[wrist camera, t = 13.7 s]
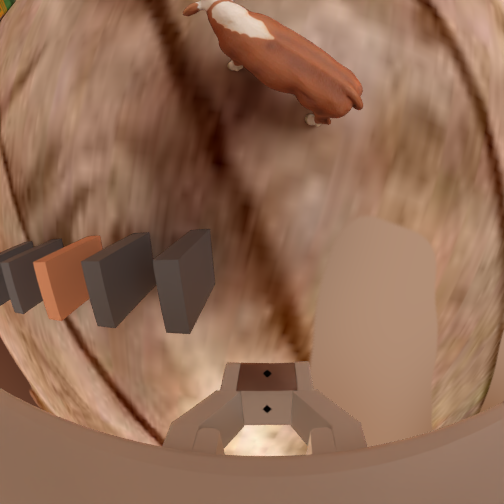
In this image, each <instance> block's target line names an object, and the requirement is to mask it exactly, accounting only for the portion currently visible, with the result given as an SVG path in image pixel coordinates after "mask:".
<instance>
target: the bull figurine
mask: <svg viewBox="0 0 504 504" xmlns="http://www.w3.org/2000/svg"><path fill="white" fill-rule="evenodd" d="M200 10H205V11H206V12H207V15H208V20H209V22H210V24H211V26H212V28H213V30H214V33H215V34H216V36H217V37H218V40H219V46H220V48H221V50H222V51H223V52H224V53H225V54H226V55H227V56H228V57H230V58H231V61H230V62H229V63H228V64H227V66H228V68H229V70H232V71H233V70H236V71H238V70H240V69H242V68H243V66H244V67H245V68H246V69H247V70H248V71H250V72H251V73H252V74H253V75H254V76H255V77H256V78H258V79H259V80H260V81H261V82H262V83H263V84H265V85H266V86H268V87H270V88H271V89H274V90H277V91H280V92H284V93H289V94H293V95H295V96H296V97H297V100H298V101H299V102H300V104H301V105H303V106H304V107H305V108H307V109H309V110H311V111H312V112H313V114H314V115H313V114H308V115H307V116H306V117H305V122H306V123H307V124H309V125H316V126H317V127H319V126H320V125H321V124H328V125H329V124H331V120H330V118H340V117H342V116H344V115H346V114H347V113H348V112H349V111H350V110H351V108H352V107H353V108H355V109H357V110H361V109H362V108H363V103H362V100H361V97H360V96H361V94H362V91H363V90H362V86H361V83H360V82H359V81H358V79H357V78H356V76H355V75H354V74H353V73H352V72H351V71H350V70H349V69H348V68H346V67H344V66H343V65H341V64H340V63H338V62H337V61H336V60H334V59H333V58H332V57H331V56H330V55H328V54H327V53H326V52H325V51H323V50H322V49H321V48H319V47H317V46H316V45H315V44H313V43H312V42H310V41H309V40H307V39H306V38H304V37H302V36H301V35H299V34H298V33H296V32H294V31H293V30H291V29H289V28H287V27H285V26H283V25H282V24H280V23H279V22H277V21H276V20H274V19H272V18H270V17H268V16H265V15H263V14H260V13H253V12H250V11H249V10H247V9H245V8H244V7H243V6H241V5H238V4H236V3H234V0H200V1H199V2H196V3H192V4H190V5H189V6H187V7H186V8H185V9H184V11H183V15H184V16H191V15H193V14H195V13H197V12H198V11H200ZM242 65H243V66H242Z"/></svg>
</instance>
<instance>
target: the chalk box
mask: <svg viewBox="0 0 504 504" xmlns="http://www.w3.org/2000/svg"><path fill="white" fill-rule="evenodd" d="M14 2H15V0H0V20H1V19H2V17H3V16H4V15H5V13H6V12H7V11H8V9H9V8H10V7H11V6H12V4H13V3H14Z"/></svg>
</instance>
